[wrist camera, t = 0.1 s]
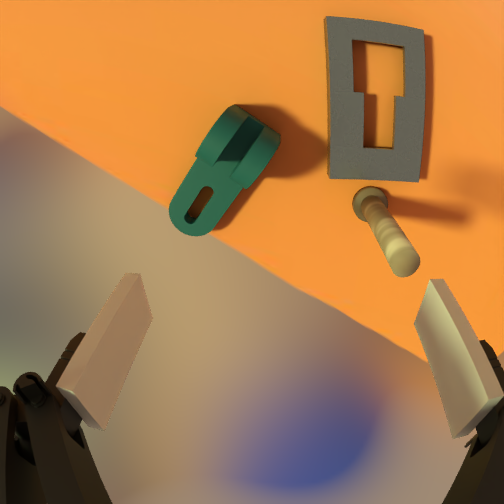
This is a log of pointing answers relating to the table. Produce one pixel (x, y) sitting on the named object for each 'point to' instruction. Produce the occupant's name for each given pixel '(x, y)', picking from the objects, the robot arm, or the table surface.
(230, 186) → the bracket
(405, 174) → the keyhole plate
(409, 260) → the peg
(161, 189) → the table surface
